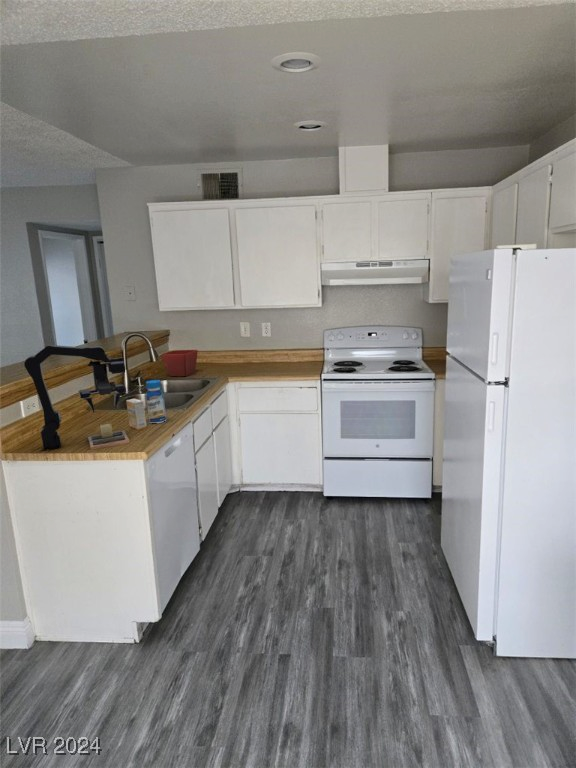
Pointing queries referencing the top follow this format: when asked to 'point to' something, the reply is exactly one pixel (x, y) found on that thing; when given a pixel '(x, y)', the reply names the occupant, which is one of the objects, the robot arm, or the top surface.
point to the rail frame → (108, 440)
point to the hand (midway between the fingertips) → (104, 410)
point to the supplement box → (136, 413)
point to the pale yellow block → (106, 431)
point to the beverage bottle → (155, 402)
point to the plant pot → (180, 362)
